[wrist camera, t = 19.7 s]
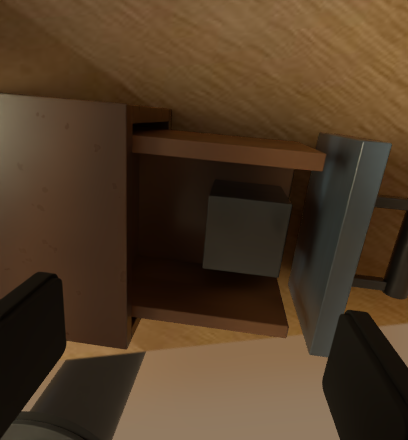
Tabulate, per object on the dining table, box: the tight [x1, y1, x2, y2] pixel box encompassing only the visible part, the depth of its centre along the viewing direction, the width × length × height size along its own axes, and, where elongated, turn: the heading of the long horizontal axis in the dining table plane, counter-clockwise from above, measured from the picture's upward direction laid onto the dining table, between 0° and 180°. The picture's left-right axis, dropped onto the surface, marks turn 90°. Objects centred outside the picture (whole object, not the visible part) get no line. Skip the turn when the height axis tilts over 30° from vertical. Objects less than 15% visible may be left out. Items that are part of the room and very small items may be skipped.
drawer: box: [131, 126, 408, 357], centre depth 18 cm, size 18×11×7 cm, turn 85°
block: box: [202, 179, 292, 278], centre depth 19 cm, size 4×4×4 cm
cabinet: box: [0, 93, 172, 349], centre depth 19 cm, size 15×13×9 cm
